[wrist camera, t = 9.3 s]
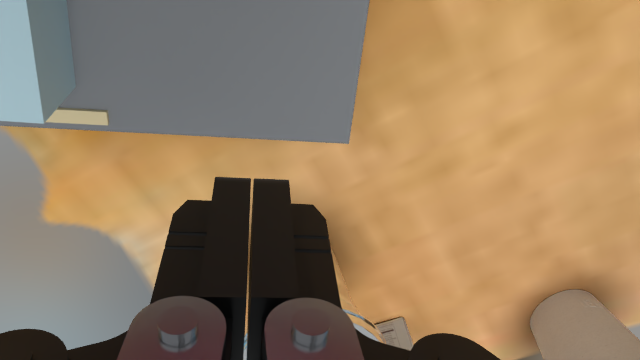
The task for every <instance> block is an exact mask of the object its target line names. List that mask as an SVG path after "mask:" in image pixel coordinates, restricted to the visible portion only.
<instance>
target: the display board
mask: <svg viewBox="0 0 640 360" xmlns="http://www.w3.org/2000/svg"><path fill="white" fill-rule="evenodd" d="M66 1H67V10H68V19H69V29H70V38H71V47H72V56H73V65H74V74H75V84H76V87H75V88H74V89H73V91H72V92H71V93H70V94H69V95H68V96H67V98H66V99H65V100H64V101H63V102H62V103H61V105H60V106H59V107H58V108H57V109H56V110H55V112H54V113H53V114H52V115H51V116H50V117H49V119H48V120H47V121H46V122H45V123H44V124H40V123H25V122H10V121H0V126H18V127H38V128H57V129H76V130H95V131H115V132H134V133H153V134H172V135H191V136H211V137H230V138H249V139H268V140H288V141H307V142H326V143H345V144H349V139H350V132H351V125H352V118H353V111H354V104H355V97H356V90H357V83H358V76H359V69H360V62H361V55H362V48H363V42H364V35H365V28H366V21H367V14H368V7H369V0H66Z"/></svg>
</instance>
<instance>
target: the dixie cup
mask: <svg viewBox="0 0 640 360" xmlns="http://www.w3.org/2000/svg"><path fill="white" fill-rule="evenodd" d="M530 327H531V330H532V333H533V335H534V337H535V340H536V342H537V345H538V347H539V350H540V352H541V354H542V357H543V359H544V360H640V340H639V339H638V338H637V337H636V336H635V335H634V334H632V332H631V331H630V330H629V329H627V328H626V327H625V326H624V325H623V324H622V323H621V322H620V321H619V320H618V319H617V318H616V317H615V316H614V315H613V314H612V313H611V312H610V311H609V310H608V309H607V308H606V307H605V306H604V305H603V304H602V303H600V302H599V301H598V300H597V299H596V298H595V297H594V296H593V295H592V294H591V293H589V292H587V291H584V290H577V289H573V290H565V291H561V292H558V293H556V294H554V295H552V296H550V297H548V298H547V299H545V300H544V301H543V302H541V303H540V304H539V305H538V306H537V308H536V309H535V310H534V312H533V314H532V316H531V319H530Z"/></svg>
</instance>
